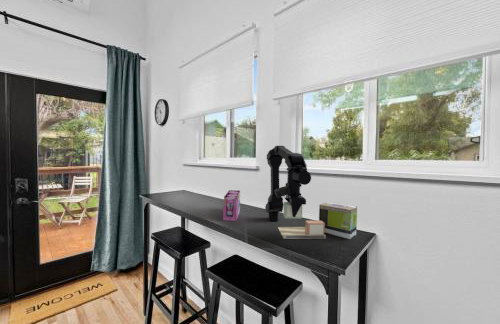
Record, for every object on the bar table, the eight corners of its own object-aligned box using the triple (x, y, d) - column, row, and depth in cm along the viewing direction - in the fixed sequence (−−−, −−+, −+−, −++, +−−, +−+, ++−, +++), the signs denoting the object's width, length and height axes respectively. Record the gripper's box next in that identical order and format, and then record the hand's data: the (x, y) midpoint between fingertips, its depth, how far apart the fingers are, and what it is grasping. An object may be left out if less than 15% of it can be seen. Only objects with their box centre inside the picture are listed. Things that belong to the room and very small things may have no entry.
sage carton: (283, 215, 103) (283, 202, 102) (299, 215, 103) (299, 202, 103) (285, 218, 99) (285, 204, 98) (301, 218, 99) (302, 204, 99)
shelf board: (277, 229, 113) (277, 224, 113) (313, 229, 114) (314, 224, 114) (283, 242, 98) (284, 235, 97) (325, 241, 99) (326, 235, 99)
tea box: (356, 236, 106) (358, 206, 106) (349, 242, 99) (351, 210, 98) (326, 228, 116) (327, 200, 116) (317, 233, 109) (318, 204, 108)
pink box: (305, 234, 104) (305, 220, 103) (320, 234, 104) (321, 220, 104) (307, 237, 100) (308, 223, 99) (324, 237, 100) (324, 223, 100)
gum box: (236, 222, 124) (236, 198, 123) (222, 221, 124) (222, 197, 124) (240, 210, 148) (240, 190, 147) (228, 210, 148) (228, 190, 148)
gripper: (272, 178, 109) (271, 209, 110) (280, 184, 90) (279, 221, 91) (294, 178, 109) (293, 209, 110) (307, 184, 91) (305, 222, 92)
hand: (292, 215), depth 101 cm, fingers closed on sage carton, 4 cm apart
